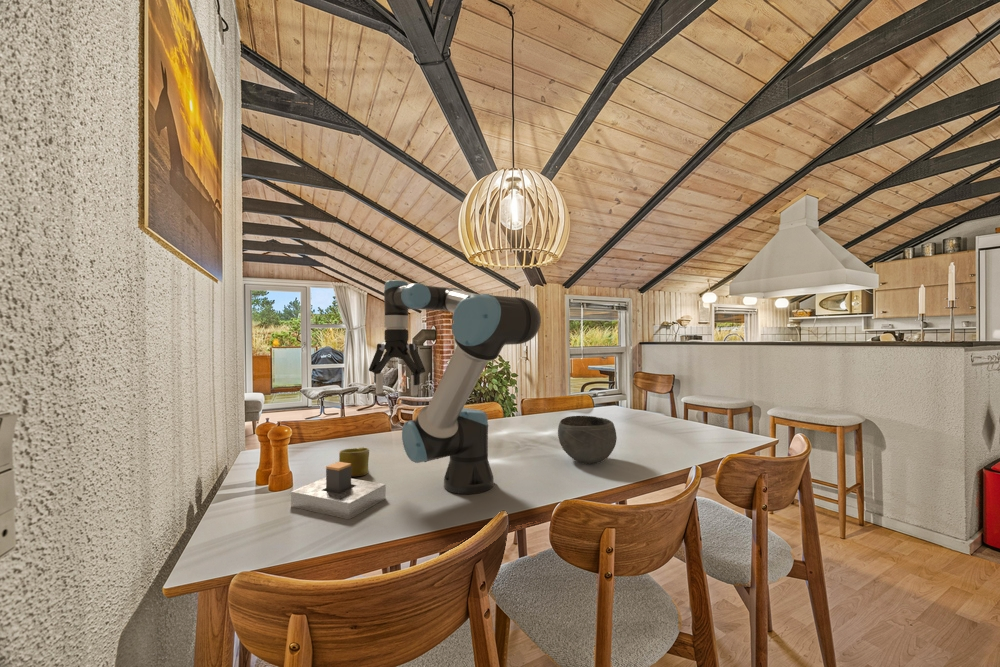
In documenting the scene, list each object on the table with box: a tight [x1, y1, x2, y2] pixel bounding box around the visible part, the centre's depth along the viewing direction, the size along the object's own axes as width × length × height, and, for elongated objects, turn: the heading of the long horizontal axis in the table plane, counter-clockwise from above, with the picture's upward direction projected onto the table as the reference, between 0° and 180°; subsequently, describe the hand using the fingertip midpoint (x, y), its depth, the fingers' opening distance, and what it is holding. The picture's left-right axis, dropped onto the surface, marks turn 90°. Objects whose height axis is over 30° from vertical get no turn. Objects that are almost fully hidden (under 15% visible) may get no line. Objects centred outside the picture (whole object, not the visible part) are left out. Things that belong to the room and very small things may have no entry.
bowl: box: [557, 415, 618, 465], centre depth 147 cm, size 21×21×15 cm
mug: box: [338, 446, 370, 478], centre depth 135 cm, size 12×10×10 cm
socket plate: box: [290, 476, 387, 520], centre depth 111 cm, size 20×14×5 cm
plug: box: [325, 461, 352, 494], centre depth 111 cm, size 4×4×10 cm
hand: (396, 394), depth 131 cm, fingers open, 13 cm apart
